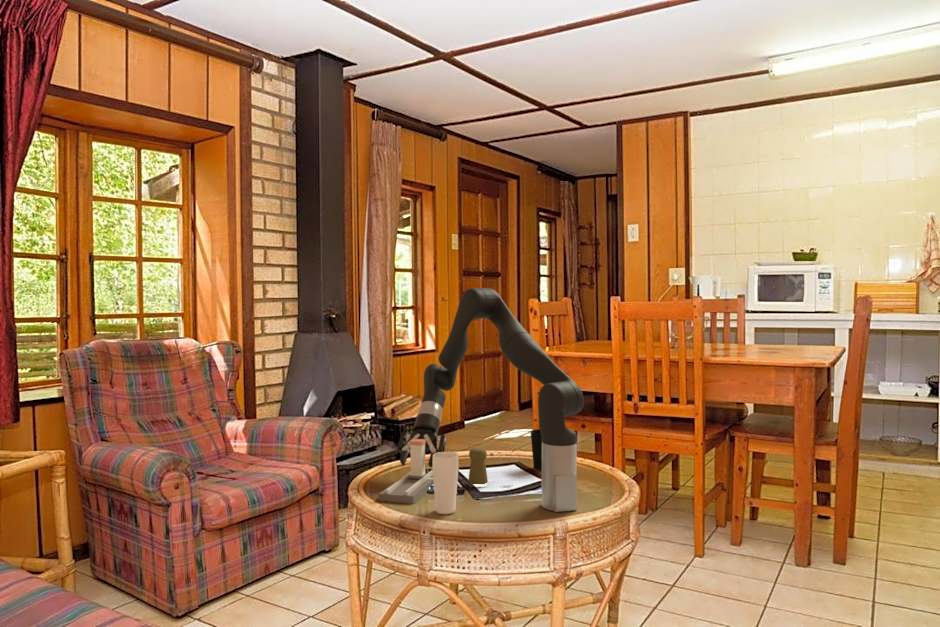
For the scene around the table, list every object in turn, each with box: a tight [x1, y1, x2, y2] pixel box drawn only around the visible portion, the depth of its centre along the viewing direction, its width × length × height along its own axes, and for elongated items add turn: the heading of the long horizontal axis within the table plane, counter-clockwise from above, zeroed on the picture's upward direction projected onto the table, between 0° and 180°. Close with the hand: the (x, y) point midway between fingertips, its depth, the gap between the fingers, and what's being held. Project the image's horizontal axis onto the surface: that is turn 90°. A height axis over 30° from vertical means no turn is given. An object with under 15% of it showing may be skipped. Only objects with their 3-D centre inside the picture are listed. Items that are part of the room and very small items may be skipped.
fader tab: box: [409, 439, 427, 479], centre depth 209 cm, size 4×4×11 cm
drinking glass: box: [431, 451, 459, 515], centre depth 184 cm, size 7×7×15 cm
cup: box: [530, 428, 542, 472], centre depth 228 cm, size 8×8×12 cm
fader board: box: [378, 470, 433, 505], centre depth 204 cm, size 24×10×3 cm, turn 165°
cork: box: [467, 447, 489, 484], centre depth 209 cm, size 6×6×11 cm
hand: (416, 465), depth 208 cm, fingers open, 8 cm apart
